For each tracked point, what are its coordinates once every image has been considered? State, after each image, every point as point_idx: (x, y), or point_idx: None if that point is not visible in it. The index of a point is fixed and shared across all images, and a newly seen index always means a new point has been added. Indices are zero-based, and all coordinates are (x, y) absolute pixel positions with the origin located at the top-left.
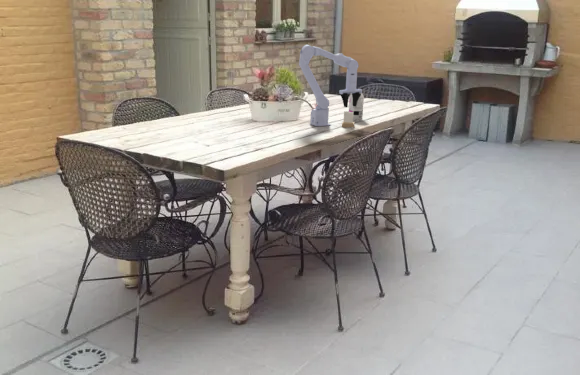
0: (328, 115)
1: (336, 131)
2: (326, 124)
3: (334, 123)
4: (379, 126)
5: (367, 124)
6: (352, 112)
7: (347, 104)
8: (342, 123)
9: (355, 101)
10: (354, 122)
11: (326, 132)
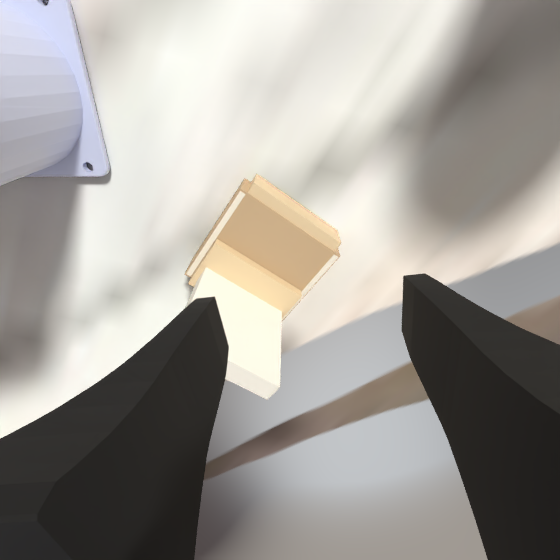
0: (17, 156)
1: (90, 373)
2: (52, 164)
3: (196, 50)
4: (527, 314)
5: (511, 212)
6: (258, 393)
7: (216, 391)
8: (188, 276)
9: (436, 395)
10: (333, 263)
11: (10, 381)
